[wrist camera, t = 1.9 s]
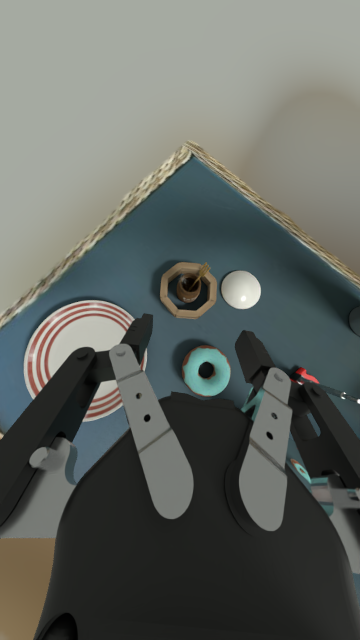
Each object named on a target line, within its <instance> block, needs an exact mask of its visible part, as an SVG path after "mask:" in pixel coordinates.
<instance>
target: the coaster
mask: <svg viewBox="0 0 360 640" xmlns="http://www.w3.org/2000/svg"><path fill="white" fill-rule="evenodd" d="M221 292H222V296H223V298H224V300H225V301H226V302H227V303H228V304H229V305H230V306H232V307H234V308H237V309H247V308H249V307H252V306H253V305H255V304H256V303H257V301H258V300H259V297H260V294H261V289H260V285H259V282H258V281H257V279H256V278H255V277H254V276H253V275H252V274H250V273H248V272H245V271H234V272H232V273H230V274H229V275H227V276H226V277H225V279H224V280H223V282H222V286H221Z"/></svg>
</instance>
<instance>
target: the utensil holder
mask: <svg viewBox="0 0 360 640" xmlns="http://www.w3.org/2000/svg"><path fill="white" fill-rule="evenodd" d="M206 264H207V262H206V263H205V264H204V265H203V267H202V268H201V269H200V271H199V272H200V275H199V277H198V276H197V275H196V274H194V273H186V274H184V275H183V276H181V278H179V279H180V280H178V281H179V282H178V284H177V296H178V298H179V299H180V300H181V301H182V302H185V303H190V302H193V301H194V300H195V299H196V298H197V297H198V295H199V293H200V290H201V280H200V277H201V276H202V277H204V276H205V275H206V273H207V272H208V271H209V269H210V267H209V268H208V269H207V267H208V265H207V266H206V267H205V265H206ZM204 267H205V269H204V270H203V268H204ZM206 269H207V271H206V272H205V273H204V271H205V270H206Z"/></svg>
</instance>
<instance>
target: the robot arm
mask: <svg viewBox="0 0 360 640" xmlns="http://www.w3.org/2000/svg"><path fill="white" fill-rule="evenodd" d="M349 323H350V326H351V328H352V330H353V331H354V332H355V333H356V334H357V335H358V336H360V306H359V307H356V308H354V309H353V310H352V311H351V313H350V316H349ZM152 328H153V315H151V314H145V313H144V314H143V316H142V318H141V319H139V318H136V319H135V320H134V321H132V323H131V325H130V327H129V328H128V330H127V331H126V333H125V335H124V337H123V338H122V340H121V342H120V343H119V344H118V345H115V346H114V347H112V348H111V350H107V351H98V352H95V350H94V349H93V348H91V347H81V348H78V349H76V350H75V351H73V352H72V353H71V354H70V355H69V356H68V358H67V359H66V360H65V361H64V363H63V364H62V365H61V366H60V368H59V369H58V370H57V371H56V372H55V374H54V375H53V376H52V377H51V379H50V380H49V381H48V382H47V384H46V385H45V386H44V387H43V388H42V390H41V391H40V392H39V393H38V395H37V396H36V397H35V398H34V400H33V401H32V402H31V403H30V404H29V406H28V407H27V408H26V409H25V411H24V412H23V413H22V414H21V416H20V417H19V418H18V419H17V420H16V422H15V423H14V424H13V425H12V427H11V428H10V429H9V430H8V432H7V433H6V434H5V435H4V436H3V438H2V439H1V440H0V539H1V538H56V541H55V550H54V560H53V567H52V572H51V578H50V583H49V587H48V592H47V596H46V600H45V604H44V607H43V611H42V614H41V617H40V621H39V624H38V627H37V630H36V633H35V636H34V639H33V640H360V607H359V603H358V599H357V595H356V590H355V585H354V580H353V575H352V572H354V573H358V574H360V440H359V438H358V437H357V436H356V434H355V433H354V431H353V430H352V429H351V427H350V426H349V424H348V423H347V422H346V420H345V419H344V417H343V416H342V415H341V413H340V412H339V410H338V409H337V408H336V406H335V405H334V403H333V402H332V401H331V399H330V398H329V396H328V395H327V394H326V392H325V391H324V390H323V389H322V388H320V387H319V386H318V385H316V384H314V383H311V382H305V383H304V384H302V385H301V384H298V383H296V382H294V381H291V380H290V378H289V377H288V375H287V374H286V373H284V372H283V371H282V370H280V369H278V368H276V367H275V365H274V363H273V361H272V359H271V358H270V356H269V354H268V353H267V350H266V349H265V347H264V345H263V343H262V342H261V341H260V340H259V339H258V338H256V336H255V334H254V333H253V332H251V331H245V330H243V331H242V332H241V334H240V336H239V337H238V339H237V341H236V343H235V350H236V353H237V356H238V359H239V362H240V365H241V368H242V371H243V374H244V378H245V381H246V383H251V384H253V387H252V388H251V390H250V392H249V394H248V397H247V399H246V401H245V403H244V406H243V407H242V409H241V410H240V409H238V408H237V407H235V406H234V402H233V401H232V400H225V399H211V400H205V401H203V400H200V399H198V398H195V397H193V396H191V395H188V394H185V393H178V392H172V391H171V396H167V397H164V398H161V399H159V400H157V398H156V396H155V394H154V391H153V389H152V387H151V385H150V383H149V381H148V378H147V376H146V374H145V372H144V371H143V370H141V368H140V365H141V362H142V359H143V357H144V354H145V351H146V348H147V345H148V343H149V340H150V337H151V334H152ZM112 380H116V382H117V386H118V389H119V393H120V396H121V400H122V403H123V407H124V410H125V414H126V417H127V421H128V424H129V429H128V430H127V431H126V432H125V433H124V434H123V435H122V436H121V437H120V438H119V439H118V440H117V441H116V442H115V443H114V444H113V445H112V446H111V447H110V448H109V449H108V450H107V452H106V453H105V454H104V455H103V456H102V457H101V458H100V459H99V460H98V461H97V462H96V463H95V464H94V465H93V466H92V467H91V468H90V469H89V470H88V471H87V472H86V473H85V474H84V476H83V477H82V478H81V479H80V481H79V482H78V484H76V482H75V480H74V476H73V471H74V466H75V463H76V460H77V448H76V446H75V445H74V444H72V441H73V439H74V437H75V435H76V433H77V431H78V429H79V427H80V425H81V423H82V421H83V419H84V417H85V415H86V413H87V411H88V409H89V407H90V405H91V403H92V401H93V398H94V396H95V394H96V392H97V390H98V388H99V386H100V384H101V382H106V381H112ZM309 413H311V414H312V415H313V417H314V419H315V421H316V422H317V424H318V426H319V428H320V431H321V434H320V436H319V437H318V436H317V434H316V432H315V430H314V428H313V426H312V424H311V422H310V420H309V419H308V417H307V414H309ZM289 431H291V434H292V436H293V439H294V441H295V444H296V446H297V448H298V451H299V453H300V456H301V458H302V460H303V463H304V465H305V468H306V470H307V473H308V475H309V477H310V480H311V489H310V490H308V489H307V488H306V486H305V485H304V484H303V483H302V482H301V480H300V479H299V478H298V477H297V475H296V474H295V473H294V472H293V470H292V469H291V468H290V467H289V465H288V464H287V463H286V462H285V460H286V452H287V445H288V438H289Z"/></svg>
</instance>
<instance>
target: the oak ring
mask: <svg viewBox="0 0 360 640" xmlns="http://www.w3.org/2000/svg"><path fill="white" fill-rule="evenodd" d="M202 267H203V265H201V264H196V263H185V262H180V263H177V264H176V265H175V266H173V267H172V268H171V269H170V270H168V271H167V272H166V273H165V274H163V277H162V280H161V290H160V299H161V302H162V303H163V304H164V305H165V306H166V308H167V309H168V310H169V311H170V312H171V313H172V315H173V316H174V317H175V316H176V318H189V319H197V318H199V317H200V316H201V315H202V314H203V313H205V312H206V311H207V310H208V309H209V308H210V307H211V306H213V305H214V304H215V302H216V287H217V281H216V279H215V278H214V277H213V276H212V275H211V274H210V273H209V271H208V272H207V273H206V275H205V276H204V277H202V276H201V277H200V279H201V280H202V281H203V282H204V283H205V284H206V285H207V287H208V290H207V302H206V303H205V304H204V305H203V306H202V307H201V308H199V309H198V310H197V311H191V310H178V309H177V307H176V306H175V305H174V304H173V303H172V302H171V301H170V299H169V298H168V297H167V293H168V283H169V282H171V281H172V280H173V279H174V278H176V277H177V276H178V275H179V274H181V273H182V274H186V273H194V274H196V275H197V276H198V277H199V275H200V272H199V271H200V269H201V268H202ZM204 269H205V267H204V268H203V270H204ZM206 271H207V269H206V270H205V271H204V273H205V272H206Z"/></svg>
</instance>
